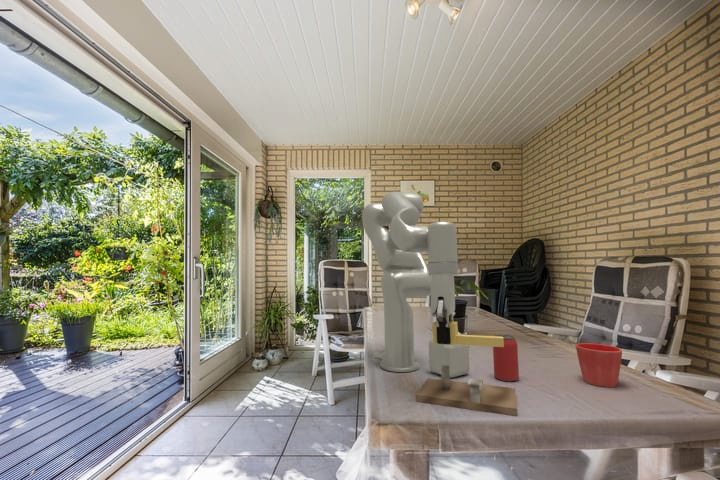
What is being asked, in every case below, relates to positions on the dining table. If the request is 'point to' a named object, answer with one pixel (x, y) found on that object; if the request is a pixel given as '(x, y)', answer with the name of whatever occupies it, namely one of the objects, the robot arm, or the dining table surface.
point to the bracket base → (468, 394)
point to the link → (468, 337)
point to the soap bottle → (449, 358)
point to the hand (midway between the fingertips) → (445, 340)
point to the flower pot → (599, 363)
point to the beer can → (506, 360)
